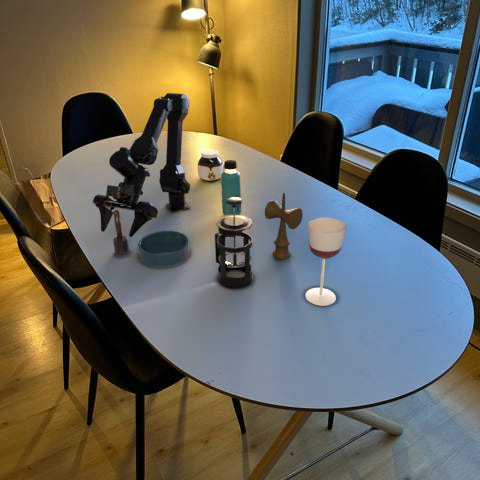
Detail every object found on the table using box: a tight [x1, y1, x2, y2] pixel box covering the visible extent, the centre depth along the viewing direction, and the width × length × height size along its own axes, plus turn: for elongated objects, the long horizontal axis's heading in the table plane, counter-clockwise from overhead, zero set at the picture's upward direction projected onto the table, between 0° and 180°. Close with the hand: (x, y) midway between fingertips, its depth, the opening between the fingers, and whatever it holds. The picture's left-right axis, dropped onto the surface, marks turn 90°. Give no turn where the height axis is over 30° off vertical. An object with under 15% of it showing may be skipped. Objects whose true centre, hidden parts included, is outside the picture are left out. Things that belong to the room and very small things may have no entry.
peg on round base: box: [112, 209, 130, 257], centre depth 127 cm, size 4×4×14 cm
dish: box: [137, 230, 190, 267], centre depth 129 cm, size 14×14×4 cm
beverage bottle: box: [220, 159, 242, 216], centre depth 147 cm, size 6×7×20 cm
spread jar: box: [197, 149, 228, 183], centre depth 183 cm, size 12×11×12 cm
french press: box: [214, 197, 254, 290], centre depth 114 cm, size 12×9×23 cm
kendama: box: [264, 192, 304, 261], centre depth 124 cm, size 6×10×20 cm, turn 46°
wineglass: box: [305, 217, 347, 307], centre depth 107 cm, size 8×9×20 cm
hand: (116, 234), depth 126 cm, fingers open, 9 cm apart
